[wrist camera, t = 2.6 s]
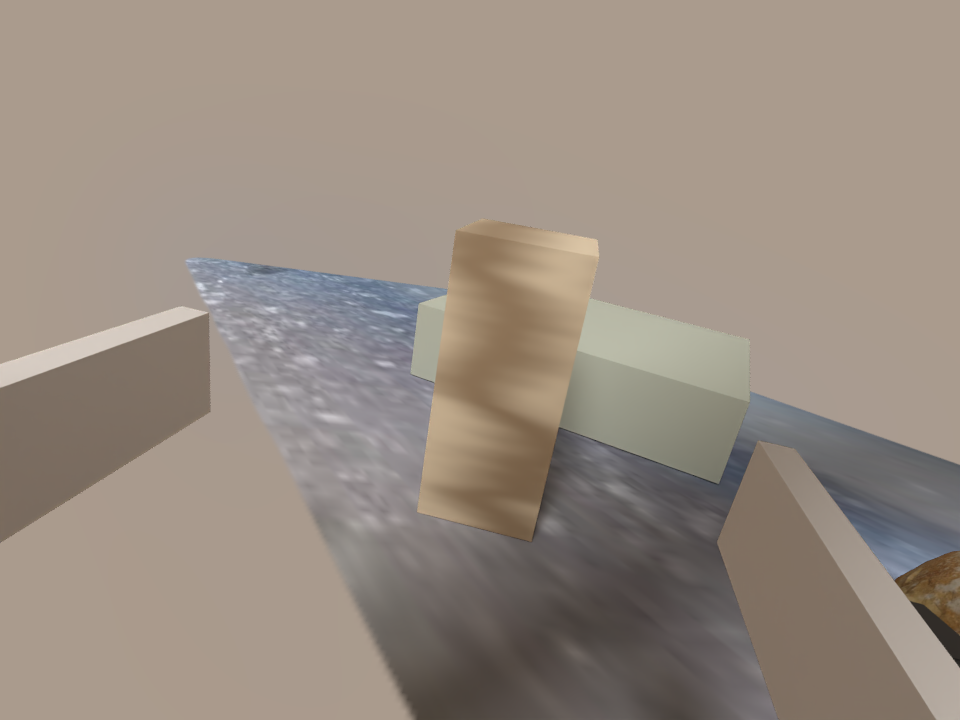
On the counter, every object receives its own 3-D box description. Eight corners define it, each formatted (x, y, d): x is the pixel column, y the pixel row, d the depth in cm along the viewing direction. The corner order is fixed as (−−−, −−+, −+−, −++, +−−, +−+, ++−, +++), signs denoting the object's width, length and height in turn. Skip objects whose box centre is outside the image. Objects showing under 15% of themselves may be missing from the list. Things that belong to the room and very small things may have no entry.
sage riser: (727, 400, 41) (749, 339, 39) (718, 484, 29) (749, 402, 27) (495, 330, 48) (504, 276, 46) (410, 373, 36) (418, 303, 34)
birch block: (541, 478, 27) (597, 239, 22) (531, 542, 22) (599, 257, 18) (446, 454, 27) (482, 218, 23) (417, 512, 23) (455, 230, 18)
